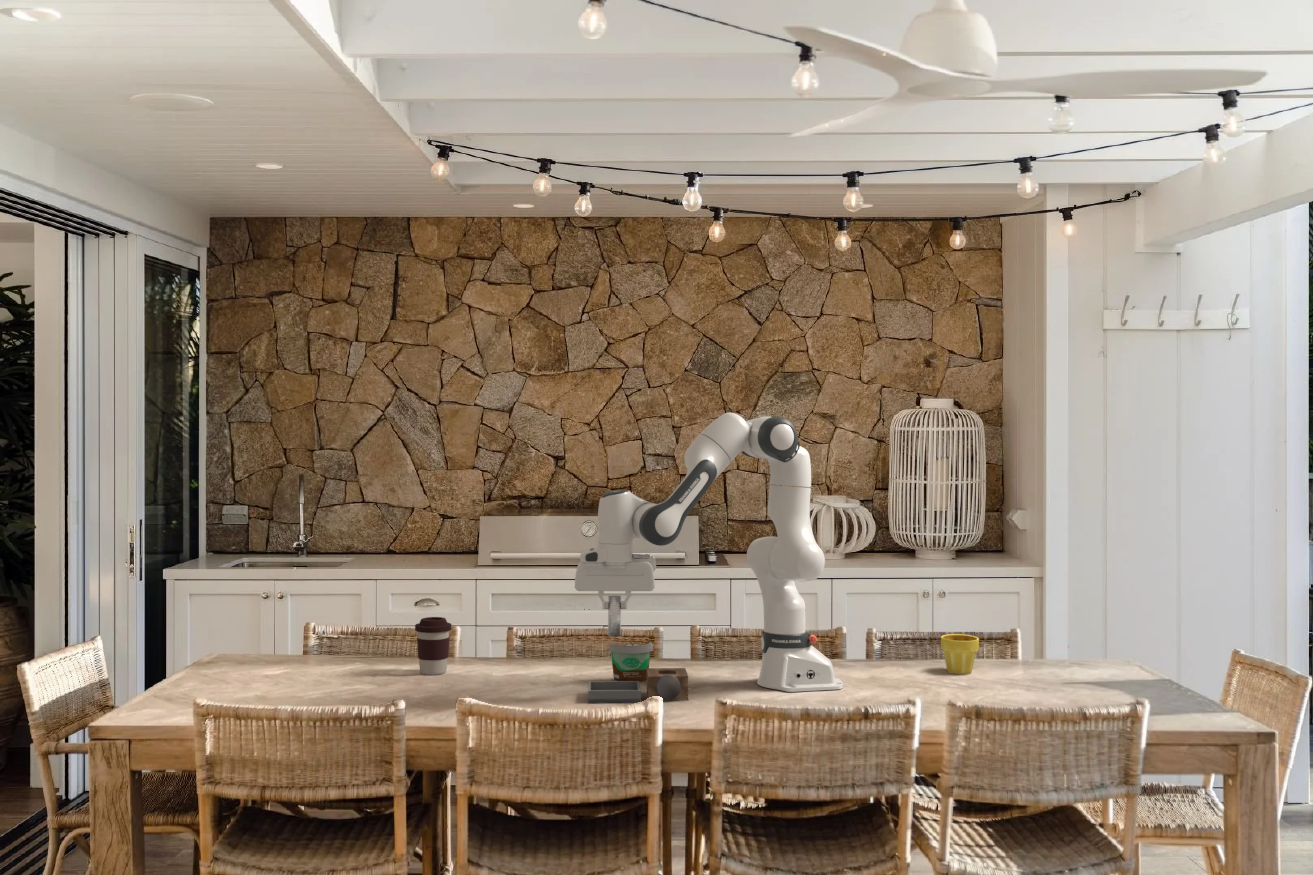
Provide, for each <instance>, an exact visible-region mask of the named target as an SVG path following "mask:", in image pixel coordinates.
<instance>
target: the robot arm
mask: <svg viewBox="0 0 1313 875" xmlns="http://www.w3.org/2000/svg"><path fill="white" fill-rule="evenodd" d="M739 454H743V455H745V456H747V457H749V458H752V459H762V460H763V459H764V460H765V459H766V460H767V463H768V465H769V469H770V470H769V471H770V477H769V487H768V498H767V499H768V502H767V515H768V517H769V518H770V520H771V521H772V522H773V524H774V527H775V530H776V535H777V536H774V535H773V536H772V535H771V536H762V537H759V538H756V539H754V540H753V541H752V542H751V543H750V544H749V546H748V548H747V551H746V562H747V564H748V566H749V568H750V569H751V571H753V573H754V575H755V577H756V580H757V583H758V585H759V588H760V589H759V590H760V592H761V597H762V604H763V630H762V632H761V651H762V659H761V667H760V671H759V672H760V673H759V676H758V678H757V682H756V684H757V685H759V686H760V687H763V688H766V689H767V688H768V689H772V690H778V691H779V690H780V691H781V692H789V693H790V692H791V693H794V692H795V693H796V692H813V691H814V692H816V691H831V690H841V689H843V688H844V685H843V684H844V683H843V681H842V680H841V679H840V678H838V677H836V676H835V669H834V666H833V663H832V661H831V660H830V659H829V658H828V657H827V656H825V655H824V654H823V653H822V652H821V651H819V650H818V649H817V648H816V647H814V646H813V645H814V644H816V643H817V642H818V639H817V636H816V635H814V634H811V633H810V632H808V631H806V609H807V608H806V601H805V600H804V598H803V597H802V596H801V594H800V592H799V590H798V589H797V586H796V583H804V582H806V583H807V582H810V581H811V582H812V581H815V580H817V579H818V578H819V577H820V576H821V575H822V574H823V572H824V571H825V570H824V569H825V565H826V558H825V554H824V552H823V550H822V549H821V547H820V546H819V545H818V543H817V541H816V538H815V535H814V533H813V528H812V524H811V494H812V493H811V492H812V467H811V464H812V463H811V457H810V453H809V451H808V449H806V448H805V447H803V446H801V443H800V441H799V438H798V433H797V430H796V428H795V426H794V425H793V423H792V422H791V421H789V420H788V419H786V418H784V417H780V416H760V417H755V418H748V419H744V418H743V417H742V416H741V415H739V414H737V413H735V412H726V413H722V414H721V415H720V416H718V417H717V418H716V419H714V420H713V421H712V422H710V423H709V424H708V425H707V426H706V427H705V428H704V429H703V430H702V431H701V432H700V433H699V434H698V435H697V436H696V437H695V438H694V439H693V441H691V443H690V445H689V446H688V448H687V449H686V451H685V453H684V465H685V467H686V470H687V472H686V474H685V477H684V478H683V479H682V481H681V482H680V483H679V484H678V486H677V487H676V488H675V489H674V491H673V492H672V493H671V494H670V496H669V497H668V498H666V499H665V500H664V501H662V502H660V503H655V502H650V501H647V500H646V499H643V498H641V497H639V496H637V495H635V494H634V493H632V492H631V490H629V489H624V488H623V489H622V488H621V489H614V490H610V491H606V492H604V493H603V494H602V495H601V496H600V499H599V502H598V509H597V510H598V512H597V528H598V532H599V533H598V538H597V546H596V547H594V548H590V549H587V550H586V549H585V550H584V551H582V552H580V554H579V559H580V562H579V563H578V565H577V567H576V572H575V577H574V579H575V580H574V588H575V590H576V591H577V592H597V593H598V595H597V596H598V597H599V599H600V601H601V603H602V610H608V600H607V601H606V600H605V598H604V595H605V592H625V596H626V597H625V598H624V600H623V601H622V600H621V610H627V609H628V605H627V603H628V601H629V600H630V598H631V597H632V592H653V591H654V589H656V588H655V585H656V584H655V583H656V582H655V574H654V572H655V571H656V569H657V560H656V557H654V556H652V555H651V554H650V553H649V554H648V553H645V554H641V553H633V545H634V544H633V543H634V542H633V540H634V539H635V538H637V539H639V540H643V541H646V542H648V543H650V544H653V545H655V546H666V545H669V544H671V543H673V542H674V541H675V540H677V538H678V537H679V535H680V533H681V531H682V529H683V525H684V523H685V520H686V518H687V517H688V515H689V514H690V512H692V510H693V508H695V506H696V505H697V503H698V502H699V501H700V500H701V499H702V498H703V496H704V495H705V494H706V492H707V491H708V490H709V488H710V487H711V486H712V484H713V483H714V482H715V481H716V479H717V478H718V477H719V476H720V475H721V474H722V473H723V472H724V471H725V470H726V468H727V467H728V466H730V464H731V463H732V462H733V461H734V460H735V458H736V457H737V456H738V455H739Z"/></svg>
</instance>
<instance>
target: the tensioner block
mask: <svg viewBox="0 0 1313 875" xmlns="http://www.w3.org/2000/svg"><path fill="white" fill-rule="evenodd" d="M646 695H647V699H648V698H649V697H652V696H660V697H662V698H663V700H662V701H689V675H688V672H687V669H686V667H671V668H670V667H664V668H663V667H660V668H658V667H654V668H652V667H651V668H650V667H649V668H647V680H646Z"/></svg>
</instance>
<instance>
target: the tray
mask: <svg viewBox="0 0 1313 875" xmlns="http://www.w3.org/2000/svg"><path fill="white" fill-rule="evenodd" d="M640 683H641V682H639V681H616V680H614V681H612V680H610V681H609V680H607V681H605V680H604V681H597V680H596V681H588V692H587V697H588V698H587V703H588V704H633V703H632V702H640V701H641V702H642V700H641V699H642V696H641V694H642V690H641V684H640Z"/></svg>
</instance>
